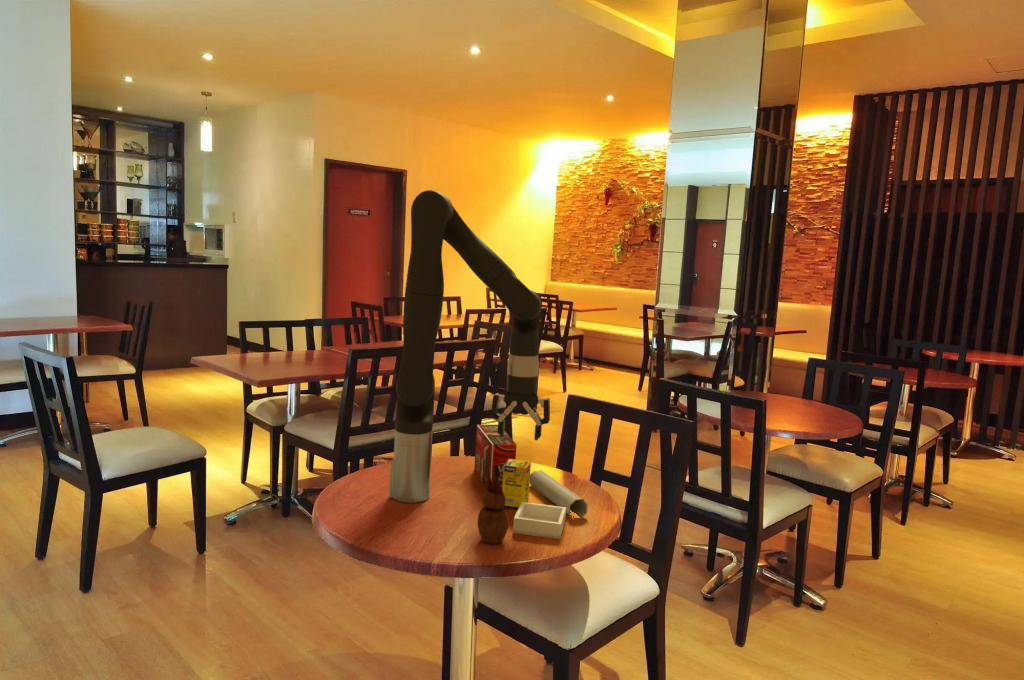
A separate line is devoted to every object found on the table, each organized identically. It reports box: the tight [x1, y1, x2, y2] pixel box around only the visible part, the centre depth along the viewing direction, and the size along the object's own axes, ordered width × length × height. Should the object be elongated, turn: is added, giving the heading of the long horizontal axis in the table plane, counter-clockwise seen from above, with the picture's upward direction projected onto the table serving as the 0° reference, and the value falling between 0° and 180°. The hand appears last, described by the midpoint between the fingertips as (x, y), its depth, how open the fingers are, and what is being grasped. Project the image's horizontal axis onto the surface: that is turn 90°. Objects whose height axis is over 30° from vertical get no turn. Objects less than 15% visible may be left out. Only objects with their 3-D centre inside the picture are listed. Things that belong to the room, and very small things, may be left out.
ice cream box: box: [474, 424, 517, 490], centre depth 188 cm, size 20×6×13 cm, turn 14°
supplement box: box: [502, 459, 532, 511], centre depth 171 cm, size 6×6×11 cm
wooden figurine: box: [477, 472, 509, 545], centre depth 149 cm, size 7×6×15 cm
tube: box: [529, 469, 589, 520], centre depth 177 cm, size 5×5×25 cm
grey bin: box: [512, 502, 567, 540], centre depth 159 cm, size 11×11×4 cm
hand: (519, 437), depth 170 cm, fingers open, 8 cm apart
